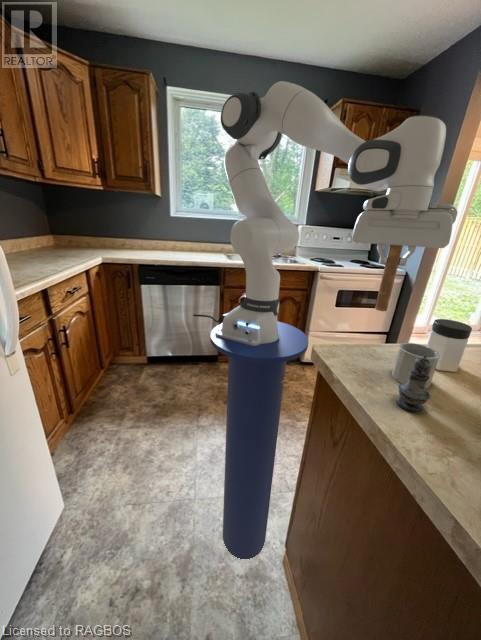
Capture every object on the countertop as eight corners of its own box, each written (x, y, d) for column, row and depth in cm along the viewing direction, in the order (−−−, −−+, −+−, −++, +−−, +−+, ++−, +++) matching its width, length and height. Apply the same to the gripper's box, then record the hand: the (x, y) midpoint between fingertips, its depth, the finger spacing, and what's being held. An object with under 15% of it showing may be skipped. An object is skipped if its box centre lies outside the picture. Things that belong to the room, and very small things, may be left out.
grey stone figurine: (388, 401, 58) (402, 351, 54) (403, 393, 61) (417, 345, 57) (416, 418, 53) (434, 364, 49) (431, 408, 56) (449, 357, 52)
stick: (375, 310, 69) (392, 236, 63) (374, 307, 71) (390, 236, 65) (387, 312, 68) (406, 237, 62) (385, 308, 71) (403, 236, 64)
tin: (395, 384, 65) (404, 354, 62) (389, 368, 72) (396, 340, 69) (434, 391, 62) (445, 361, 60) (423, 374, 70) (432, 346, 67)
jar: (448, 359, 79) (461, 320, 74) (465, 373, 71) (481, 331, 67) (415, 355, 80) (426, 317, 76) (429, 369, 72) (442, 327, 68)
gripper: (454, 205, 61) (435, 266, 66) (357, 202, 66) (347, 259, 71) (466, 203, 55) (445, 270, 60) (359, 200, 61) (348, 262, 66)
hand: (391, 264), depth 66 cm, fingers closed on stick, 3 cm apart
